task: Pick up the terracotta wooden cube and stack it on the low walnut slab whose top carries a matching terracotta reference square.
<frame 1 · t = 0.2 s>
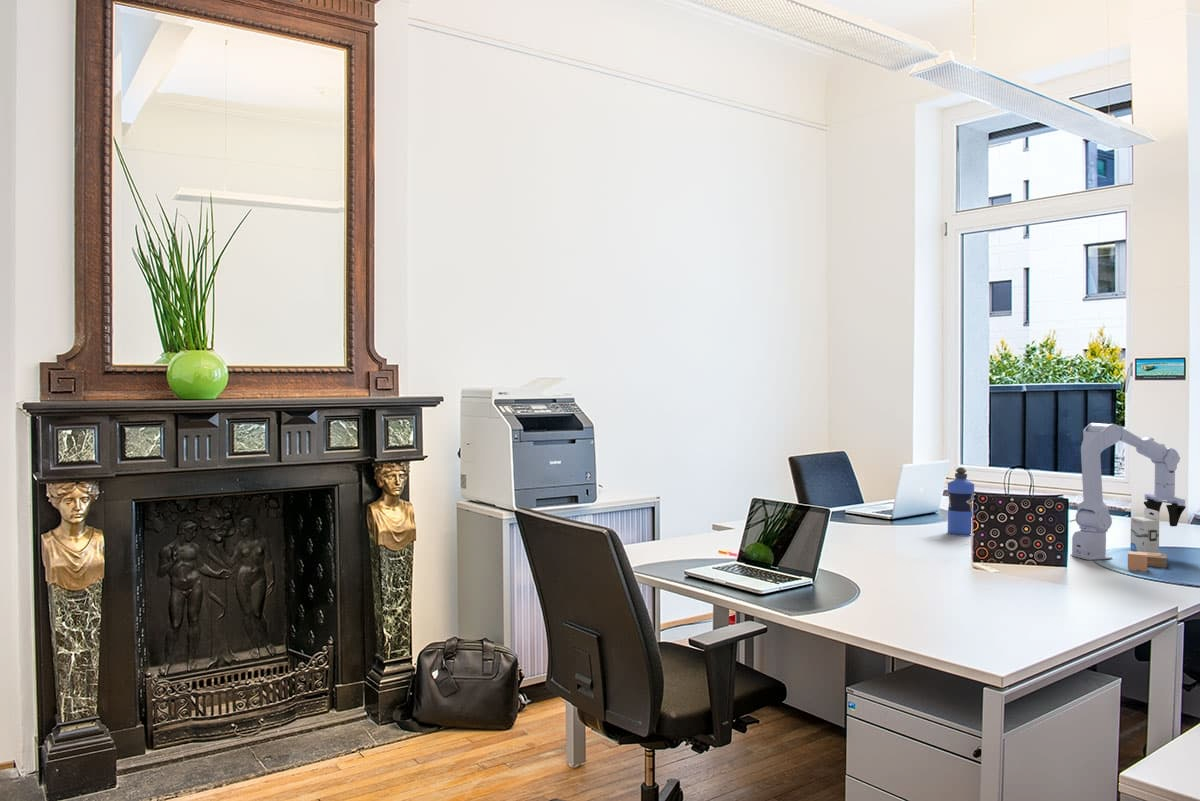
hand: (1164, 524, 294), 10 cm above the table, fingers open, 7 cm apart
terracotta cube: (1137, 569, 271), on the table
walnut slab: (1151, 564, 278), on the table
ink box: (1144, 553, 296), on the table, touching gripper
water bottle: (960, 534, 334), on the table
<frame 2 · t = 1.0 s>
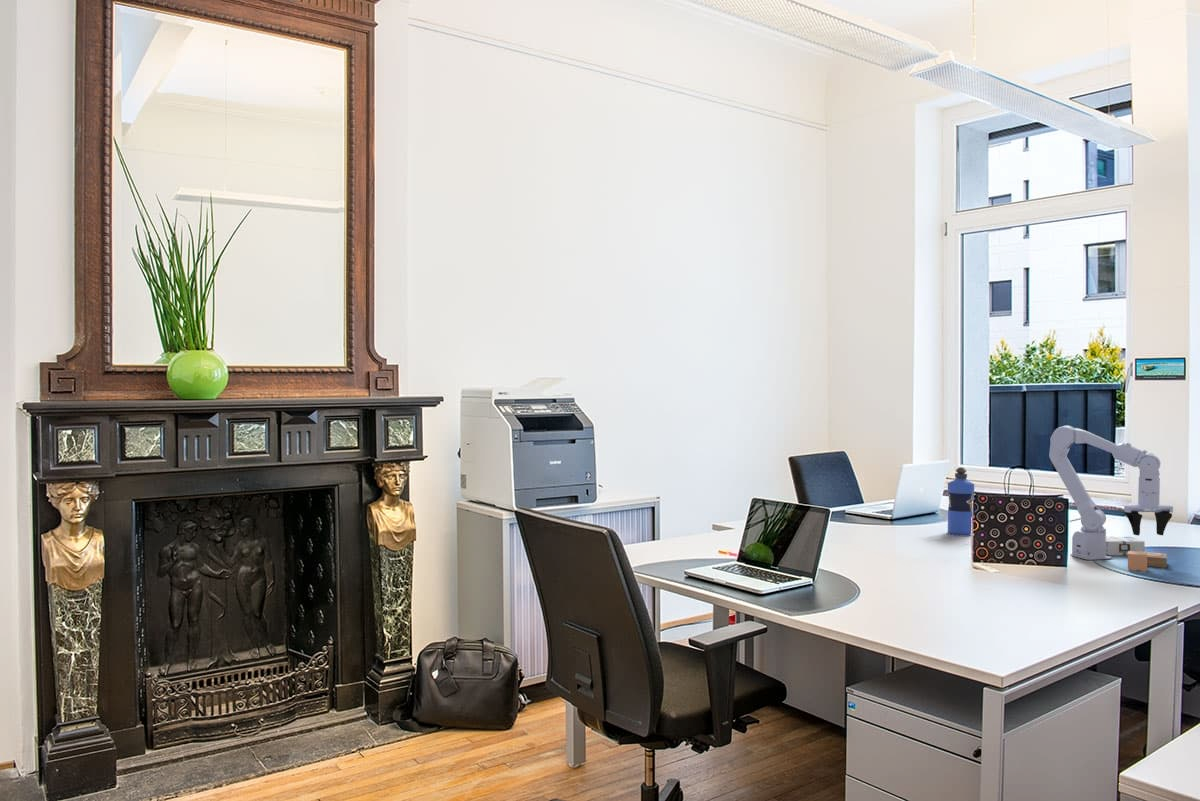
hand: (1148, 534, 280), 9 cm above the table, fingers open, 7 cm apart
ink box: (1138, 546, 296), point 2 cm above the table
everything else where it was.
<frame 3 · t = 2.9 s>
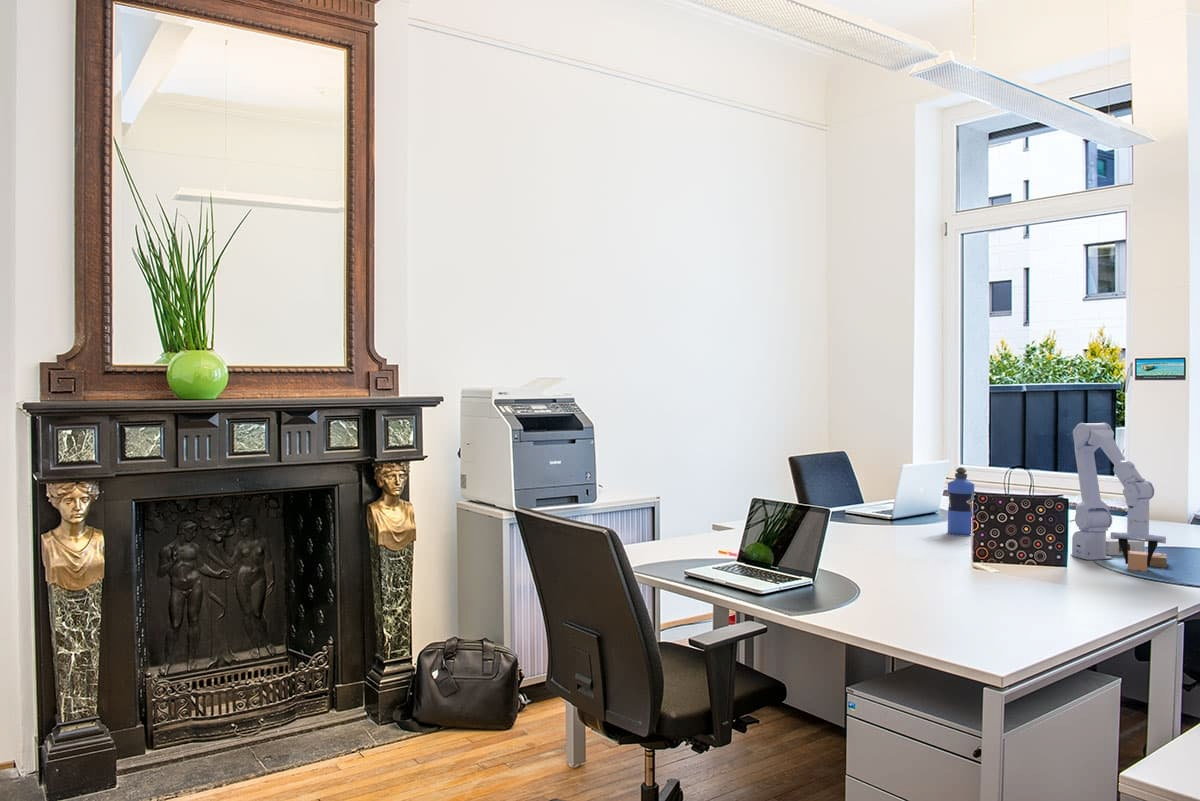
hand: (1137, 564, 271), 1 cm above the table, fingers closed on terracotta cube, 5 cm apart
terracotta cube: (1137, 569, 271), on the table, touching gripper
everything else where it was.
when the fingers open (6 cm above the table, at t = 5.7 s): terracotta cube drops 1 cm, resting on walnut slab.
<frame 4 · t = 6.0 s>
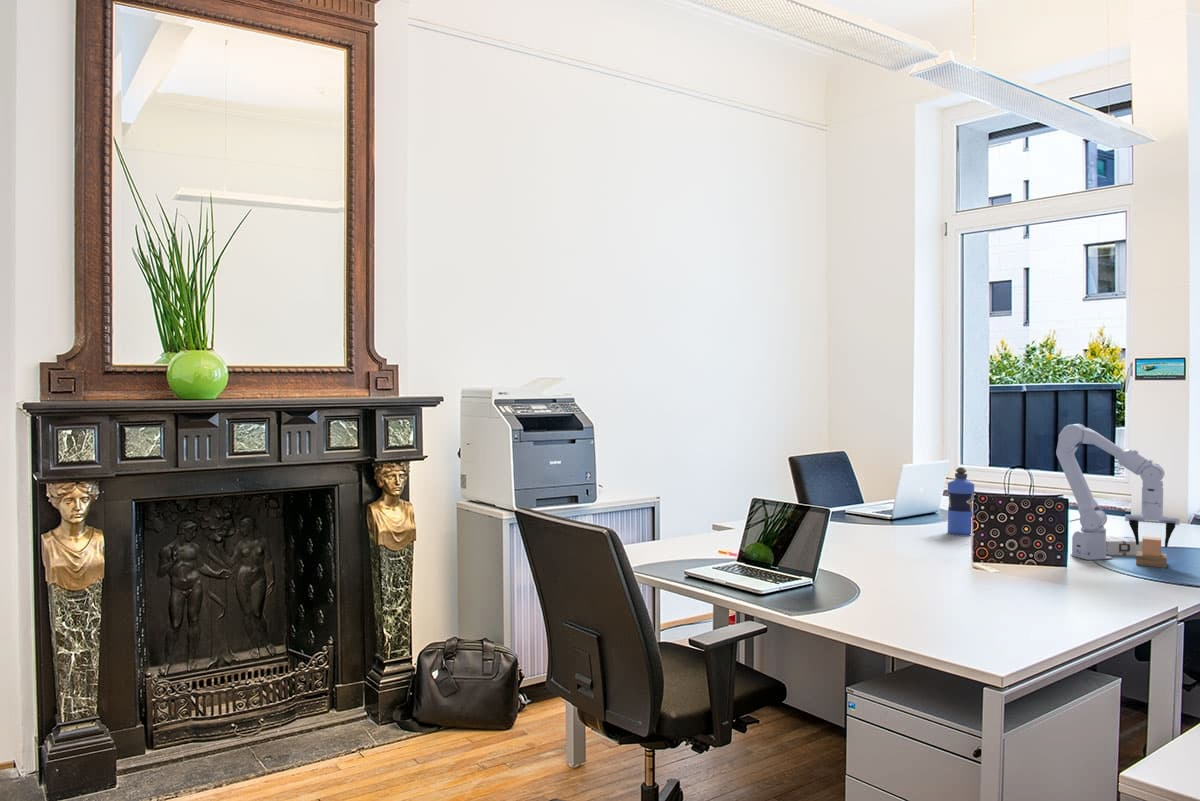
hand: (1151, 545, 278), 6 cm above the table, fingers open, 7 cm apart
terracotta cube: (1151, 554, 278), point 3 cm above the table, touching walnut slab
everything else where it was.
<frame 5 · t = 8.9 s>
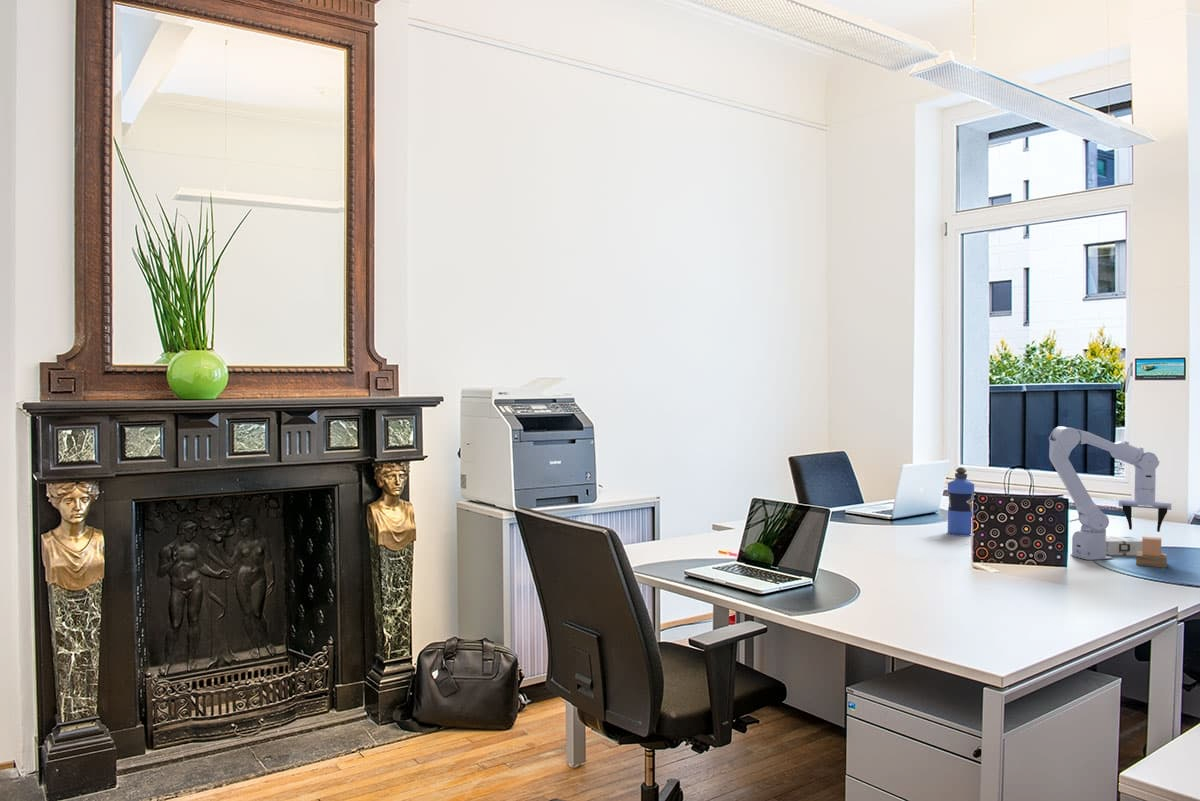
hand: (1144, 530, 286), 9 cm above the table, fingers open, 7 cm apart
nothing on the table moved.
at the end: terracotta cube 0.2 cm off-centre on the walnut slab, point 3.2 cm above the walnut slab's base; terracotta cube tilted 0°; the gripper is holding nothing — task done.
